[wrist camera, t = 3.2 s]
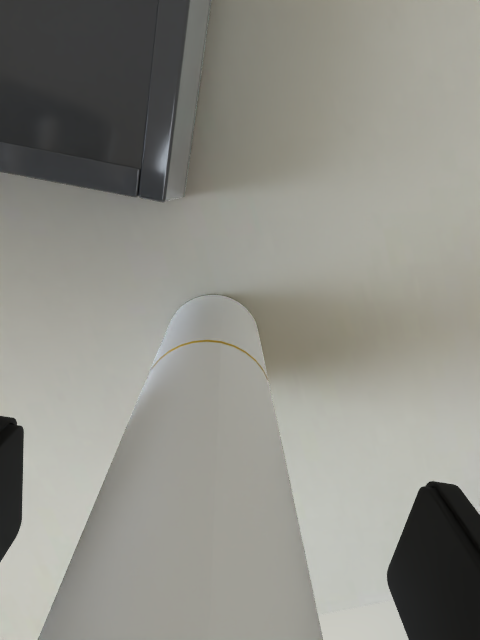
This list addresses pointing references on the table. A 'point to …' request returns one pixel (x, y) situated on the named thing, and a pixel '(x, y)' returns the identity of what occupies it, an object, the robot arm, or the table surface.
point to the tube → (194, 503)
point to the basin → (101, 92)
